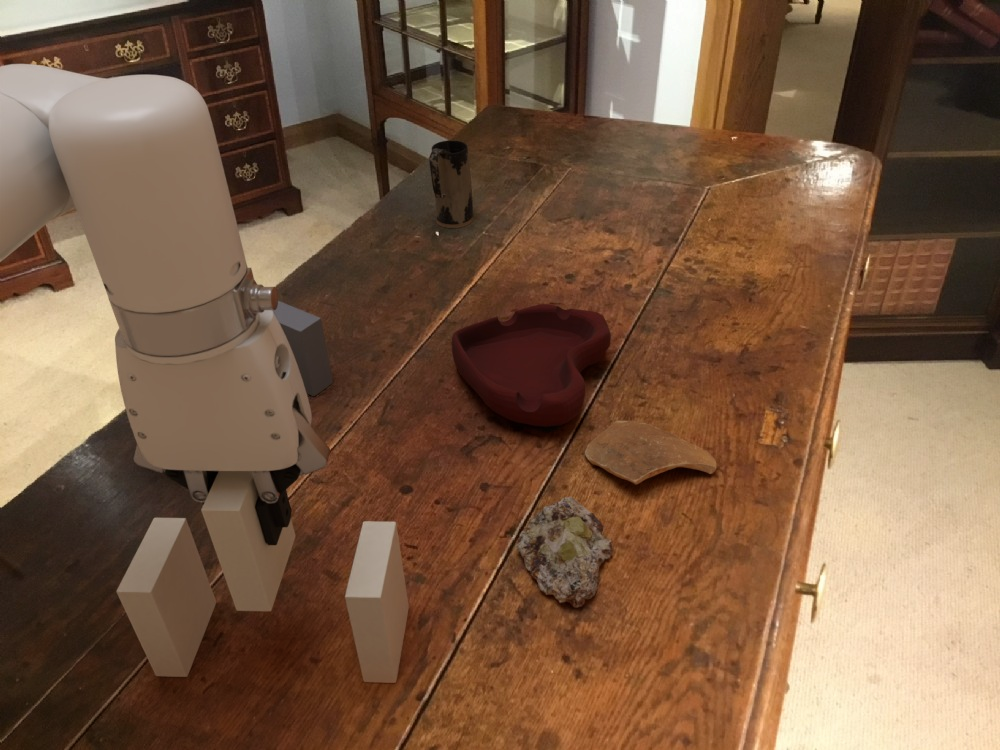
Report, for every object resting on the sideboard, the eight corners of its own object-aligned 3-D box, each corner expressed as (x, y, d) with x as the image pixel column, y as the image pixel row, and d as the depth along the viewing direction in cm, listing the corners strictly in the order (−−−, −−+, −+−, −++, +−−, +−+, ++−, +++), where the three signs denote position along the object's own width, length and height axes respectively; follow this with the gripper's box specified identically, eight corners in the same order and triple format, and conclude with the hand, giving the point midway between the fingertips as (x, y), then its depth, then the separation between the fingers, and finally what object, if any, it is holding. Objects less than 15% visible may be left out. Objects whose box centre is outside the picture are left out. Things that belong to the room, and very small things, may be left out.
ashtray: (482, 325, 102) (480, 289, 99) (616, 349, 97) (618, 312, 94) (421, 416, 89) (417, 378, 86) (573, 448, 84) (574, 409, 81)
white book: (263, 535, 65) (234, 436, 59) (296, 536, 65) (269, 436, 59) (236, 611, 59) (200, 510, 53) (271, 611, 59) (239, 510, 53)
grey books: (149, 457, 85) (123, 390, 80) (288, 362, 97) (274, 299, 92) (194, 484, 82) (171, 415, 76) (333, 382, 94) (321, 317, 89)
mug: (446, 208, 128) (440, 130, 120) (479, 213, 126) (475, 135, 119) (422, 231, 122) (414, 151, 115) (457, 237, 120) (451, 156, 113)
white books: (155, 676, 65) (115, 591, 59) (187, 601, 70) (153, 517, 64) (396, 683, 64) (380, 597, 58) (409, 606, 69) (396, 521, 63)
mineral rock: (507, 499, 75) (595, 476, 74) (521, 529, 78) (606, 508, 77) (516, 600, 67) (615, 576, 66) (532, 630, 70) (627, 608, 68)
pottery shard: (721, 470, 81) (725, 450, 79) (656, 517, 76) (658, 497, 75) (639, 417, 87) (641, 398, 86) (574, 458, 83) (575, 438, 81)
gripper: (340, 272, 51) (378, 493, 62) (79, 273, 52) (162, 490, 63) (311, 344, 45) (359, 574, 56) (16, 343, 46) (120, 570, 57)
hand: (254, 528), depth 59 cm, fingers closed on white book, 2 cm apart
